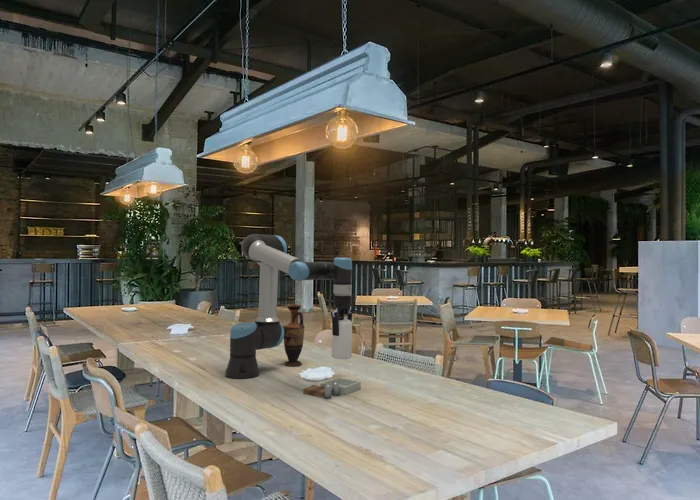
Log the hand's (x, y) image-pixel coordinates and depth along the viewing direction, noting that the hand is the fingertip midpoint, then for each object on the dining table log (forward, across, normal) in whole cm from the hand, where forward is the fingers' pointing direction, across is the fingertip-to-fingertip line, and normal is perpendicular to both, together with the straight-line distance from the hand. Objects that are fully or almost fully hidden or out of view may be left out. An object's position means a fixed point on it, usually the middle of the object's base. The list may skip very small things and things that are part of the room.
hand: (341, 351), depth 206 cm
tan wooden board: (+16, -10, +4) cm, 19 cm away
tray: (+16, 0, 0) cm, 16 cm away
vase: (+16, +24, +46) cm, 55 cm away
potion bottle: (+3, 0, 0) cm, 3 cm away
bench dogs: (+16, -11, -3) cm, 19 cm away
